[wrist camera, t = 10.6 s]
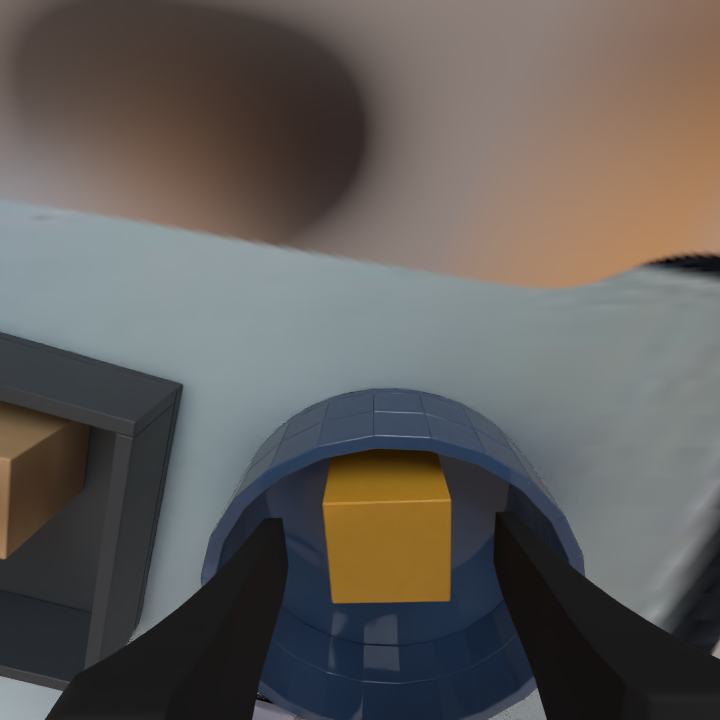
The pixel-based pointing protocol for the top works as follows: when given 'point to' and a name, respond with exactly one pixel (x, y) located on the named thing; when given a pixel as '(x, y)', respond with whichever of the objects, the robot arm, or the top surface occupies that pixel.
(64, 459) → the beech block
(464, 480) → the bowl
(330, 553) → the mustard block
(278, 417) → the top surface
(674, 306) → the top surface
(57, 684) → the bin
